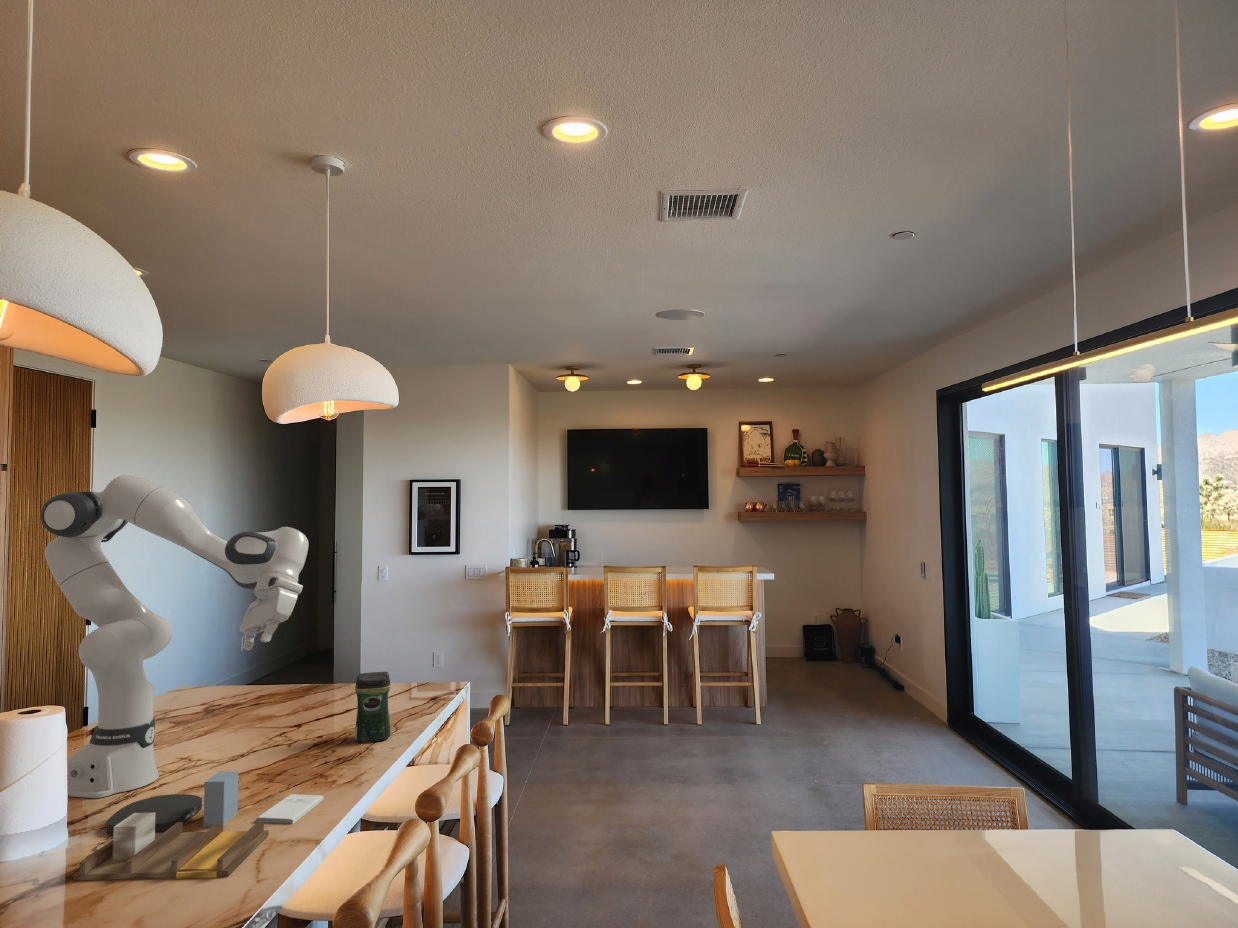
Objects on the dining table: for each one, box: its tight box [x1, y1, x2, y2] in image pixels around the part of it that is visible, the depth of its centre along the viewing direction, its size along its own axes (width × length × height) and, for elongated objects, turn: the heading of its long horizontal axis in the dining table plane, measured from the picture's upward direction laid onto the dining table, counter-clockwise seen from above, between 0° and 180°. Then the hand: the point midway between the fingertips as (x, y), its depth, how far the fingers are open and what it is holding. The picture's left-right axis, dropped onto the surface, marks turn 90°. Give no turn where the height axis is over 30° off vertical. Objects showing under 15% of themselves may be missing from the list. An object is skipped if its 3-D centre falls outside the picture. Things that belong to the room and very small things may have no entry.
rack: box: [72, 813, 270, 881], centre depth 136 cm, size 27×16×7 cm, turn 92°
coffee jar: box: [354, 671, 391, 743], centre depth 205 cm, size 10×8×19 cm
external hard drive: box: [255, 793, 324, 825], centre depth 156 cm, size 2×8×12 cm
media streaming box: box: [106, 793, 203, 836], centre depth 152 cm, size 15×15×3 cm
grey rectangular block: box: [202, 770, 239, 827], centre depth 152 cm, size 4×6×9 cm, turn 2°
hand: (255, 645), depth 167 cm, fingers open, 8 cm apart
